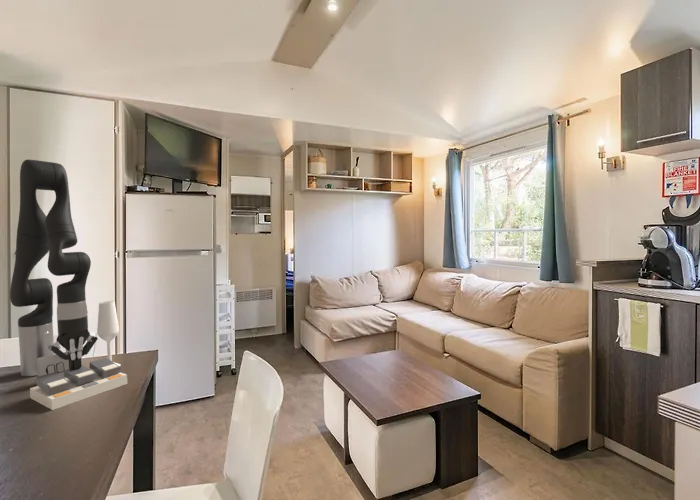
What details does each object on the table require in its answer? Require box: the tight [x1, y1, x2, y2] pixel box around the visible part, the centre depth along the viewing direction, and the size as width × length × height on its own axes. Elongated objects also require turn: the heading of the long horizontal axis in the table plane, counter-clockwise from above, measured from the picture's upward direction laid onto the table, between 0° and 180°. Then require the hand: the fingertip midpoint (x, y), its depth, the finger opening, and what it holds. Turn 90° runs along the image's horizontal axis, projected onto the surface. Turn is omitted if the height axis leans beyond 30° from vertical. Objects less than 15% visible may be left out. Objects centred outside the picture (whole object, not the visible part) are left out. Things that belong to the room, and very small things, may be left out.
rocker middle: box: [64, 364, 96, 385], centre depth 112 cm, size 9×5×2 cm, turn 59°
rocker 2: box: [88, 357, 121, 378], centre depth 118 cm, size 9×5×2 cm, turn 60°
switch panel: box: [29, 370, 129, 411], centre depth 112 cm, size 15×20×4 cm
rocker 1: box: [35, 372, 70, 395], centre depth 106 cm, size 9×5×2 cm, turn 60°
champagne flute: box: [96, 300, 121, 367], centre depth 132 cm, size 7×7×24 cm
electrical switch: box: [36, 351, 69, 378], centre depth 120 cm, size 9×5×9 cm, turn 141°
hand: (75, 370), depth 114 cm, fingers closed
